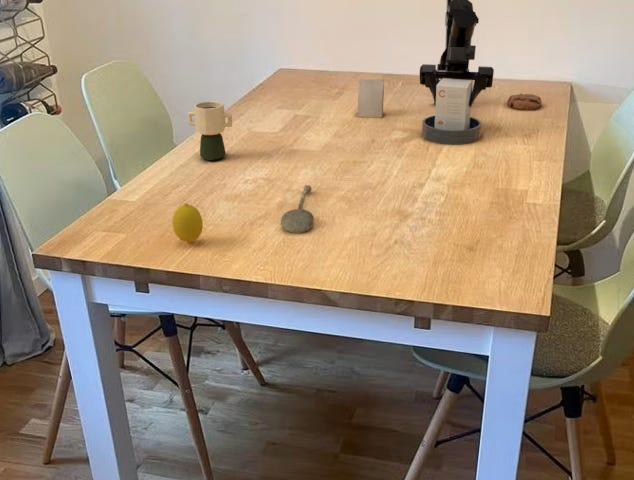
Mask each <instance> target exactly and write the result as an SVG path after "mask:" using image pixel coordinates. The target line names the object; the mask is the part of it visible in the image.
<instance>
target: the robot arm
mask: <svg viewBox="0 0 634 480" xmlns="http://www.w3.org/2000/svg"><path fill="white" fill-rule="evenodd" d="M473 5H474V4H473V3H472V2H471V1H470V0H446V11H445V16H444V18H445V19H444V26H445V45H444V46H445V47H444V48H445V49H444V51H443V52H442V54H441V55H440V58H439V63H437V65H436V64H428V63H427V64H425V63H423V64H422V65H421V66H420V67H419V84H420V85H422V86H425V88H428V89H429V91H430V93H431V96H432V100H433V105H434V106H436V85H437V84H438V83H439V82H440V81H441V80H442V78H447V79H460V80H472V81H473V82H474V83H473V85H472V94H471V99H470V107H471V108H472V106H473V104H474V102H475V101H476V99H477V97H478V96H479V94H481V92H482V91H485V90H486V89H487V88H493V81H494V74H495V73H494V72H495V69H494V67H492V66H481V65H480V66H479V65H478V67H477V68H478V69H477V71H470V68H469V67H470V61H474V60H475V58H476V50H477V49H476V47H477V45H472V38H473V36H474V32H475V28H476V26H477V24H479V21H480V20H479V19H480V18H479V17H478V16H477V13H476V11H474V6H473Z"/></svg>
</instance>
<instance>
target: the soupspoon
mask: <svg viewBox="0 0 634 480" xmlns="http://www.w3.org/2000/svg"><path fill="white" fill-rule="evenodd" d="M312 190H313V189H312V186H311V185H309V184H307V185H306V184H305V185H304V186H303V192H302V194H301V197H300V200H299V203H298V206H297V208H295V209H291V210H288V211H286V212H285V213H283V214H282V216H281V218H280V225H281V227H282V228H283V230H285V231H287V232H290V233H292V234H302V233H306V232H308V231H309V230H310V229H311V228H313V224H314V222H315V217H314V214H313V213H312V212H311V211H309V210H307V209H303V207H304V203H305V198H306V195H307V194H309V193H311V192H312Z"/></svg>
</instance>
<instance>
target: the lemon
mask: <svg viewBox="0 0 634 480" xmlns="http://www.w3.org/2000/svg"><path fill="white" fill-rule="evenodd" d="M172 228H173V232H174V234H175V236H176V237H177V238H179V240H181V241H183V242H186V243H188V244H191V243H193V242H194V241H196V240H197V239H199V237H200V236H201V234H202V232H203V218H202V215H201V212H200V211H199V209H198V208H197V207H195V206H193V205H191V204H188V203H183V204H182V205H180V206H179V207H177V208H176V209H175V211H174V213H173V216H172Z"/></svg>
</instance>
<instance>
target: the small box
mask: <svg viewBox="0 0 634 480" xmlns="http://www.w3.org/2000/svg"><path fill="white" fill-rule="evenodd" d="M440 80H441V79H440ZM473 82H474V80H460V79H447V78H442V80H441V81H440V82H439V83H438V84H437V85H436V105H435V108H434V109H435V110H434V114H435V128H437V129H442V130H468V129H469V126H470V117H471V111H472V106H471V107H470V99H471V94H472V90H473Z"/></svg>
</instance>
